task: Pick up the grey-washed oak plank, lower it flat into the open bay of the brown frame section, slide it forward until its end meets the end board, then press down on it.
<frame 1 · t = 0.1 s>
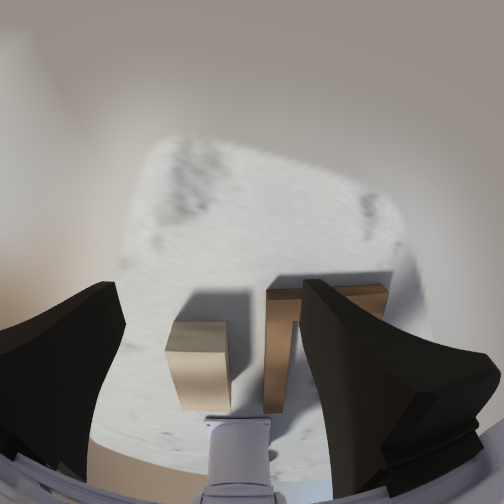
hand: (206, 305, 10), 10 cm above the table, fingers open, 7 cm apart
plank: (204, 353, 24), on the table
brown frame section: (316, 358, 25), on the table
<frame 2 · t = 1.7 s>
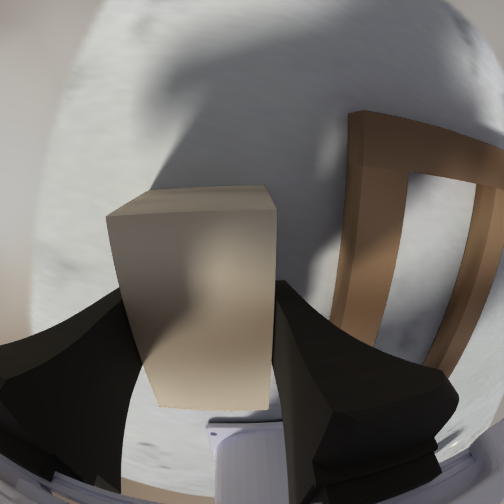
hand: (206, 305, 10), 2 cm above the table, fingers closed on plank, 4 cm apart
plank: (211, 279, 12), on the table, touching gripper
brown frame section: (418, 288, 12), on the table
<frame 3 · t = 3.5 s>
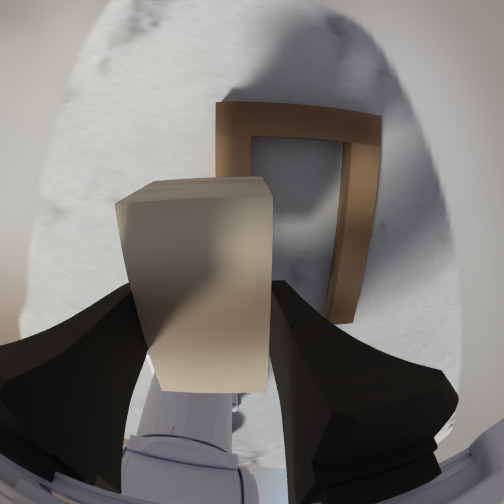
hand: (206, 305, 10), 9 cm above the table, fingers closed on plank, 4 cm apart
plank: (211, 266, 12), point 6 cm above the table, touching gripper
brown frame section: (294, 228, 18), on the table
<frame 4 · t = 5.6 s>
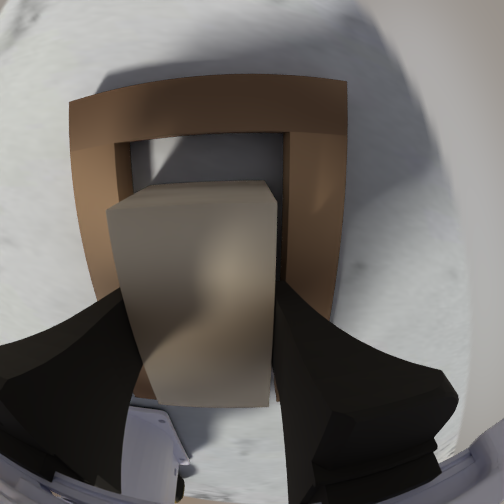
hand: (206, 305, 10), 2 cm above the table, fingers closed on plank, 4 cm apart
tape measure: (148, 466, 21), on the table
plank: (211, 275, 12), resting in brown frame section, touching gripper
brown frame section: (210, 278, 12), on the table
when the fingers open (2 cm above the table, at t = 6.7 s): plank stays where it is, resting in brown frame section.
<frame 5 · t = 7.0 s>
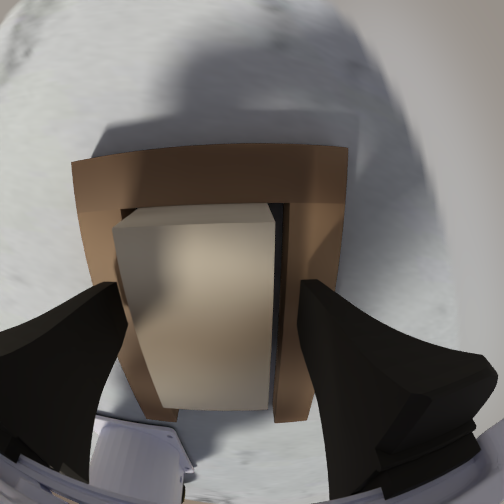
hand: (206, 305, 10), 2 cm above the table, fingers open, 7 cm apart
plank: (212, 284, 12), resting in brown frame section
brown frame section: (215, 322, 13), on the table
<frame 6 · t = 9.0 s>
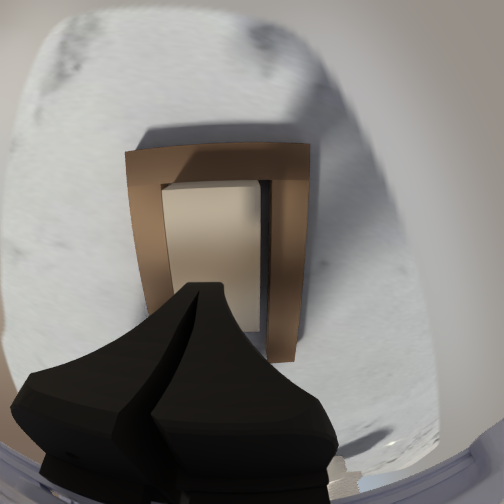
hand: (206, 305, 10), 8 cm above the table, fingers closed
plank: (219, 240, 17), resting in brown frame section
brown frame section: (221, 271, 18), on the table
pipe fitting: (332, 458, 31), on the table
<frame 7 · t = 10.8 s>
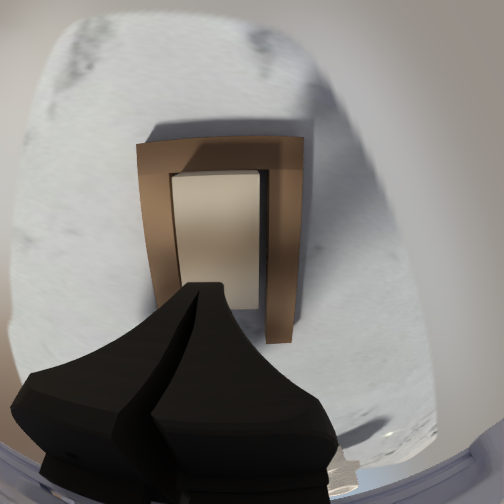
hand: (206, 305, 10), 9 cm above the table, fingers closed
plank: (222, 226, 19), resting in brown frame section
brown frame section: (223, 254, 19), on the table
pipe fitting: (331, 448, 33), on the table
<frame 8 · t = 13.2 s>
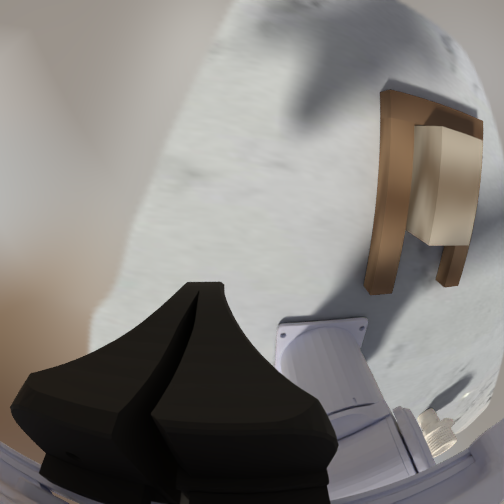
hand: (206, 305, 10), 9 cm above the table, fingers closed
plank: (428, 179, 18), resting in brown frame section
brown frame section: (427, 203, 18), on the table
pipe fitting: (424, 413, 32), on the table
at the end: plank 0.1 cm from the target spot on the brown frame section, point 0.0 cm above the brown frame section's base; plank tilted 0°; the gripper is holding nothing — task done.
